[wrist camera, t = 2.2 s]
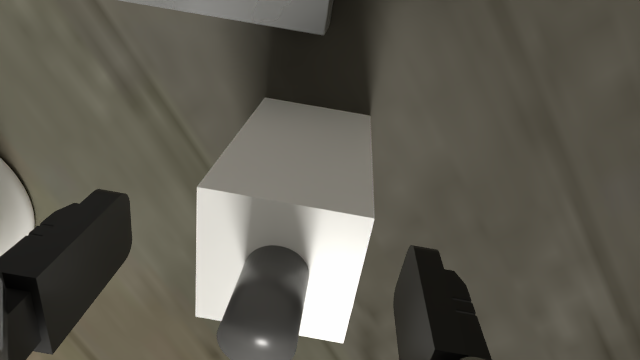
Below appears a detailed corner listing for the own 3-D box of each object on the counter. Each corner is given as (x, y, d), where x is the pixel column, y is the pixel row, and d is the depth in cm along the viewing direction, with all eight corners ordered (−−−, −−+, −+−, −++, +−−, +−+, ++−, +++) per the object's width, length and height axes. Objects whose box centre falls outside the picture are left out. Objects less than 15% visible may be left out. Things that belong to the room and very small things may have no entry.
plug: (370, 115, 17) (377, 283, 8) (350, 205, 19) (338, 421, 10) (264, 97, 17) (153, 243, 8) (256, 189, 20) (161, 388, 10)
